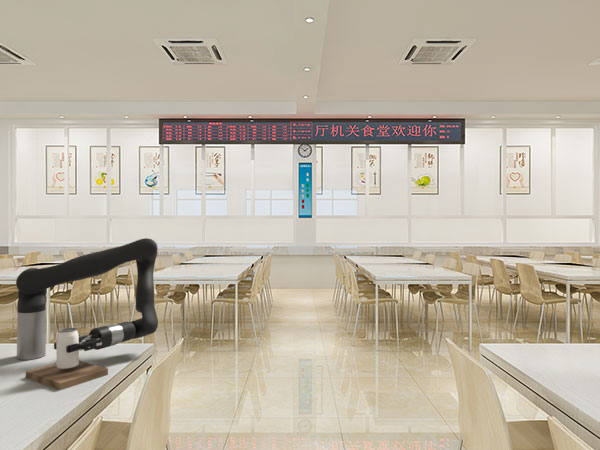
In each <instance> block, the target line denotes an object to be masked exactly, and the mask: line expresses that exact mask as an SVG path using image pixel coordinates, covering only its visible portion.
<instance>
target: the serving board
mask: <svg viewBox="0 0 600 450" xmlns="http://www.w3.org/2000/svg"><path fill="white" fill-rule="evenodd" d="M108 375H109V368H107V367H104V366H100V365H96V364H94V363H89V362H86V361H84V360H83V361H82V360H79V364H78V365H77V366H76V367H73V368H69V369H59V368H58V367H57V362H55V363H52V364H48V365H44V366H41V367H37V368H34V369H30V370H26V371H25V379H29V380H31V381H34V382H37V383H40V384H42V385H46V386H48V387H51V388H53V389H57V390H59V391H62V390H65V389H67V388H71V387H74V386H76V385H77V386H78V385H80V384H83V383H86V382H89V381H92V380H95V379H98V378H101V377H102V378H103V377H105V376H108Z"/></svg>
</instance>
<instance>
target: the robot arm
mask: <svg viewBox="0 0 600 450" xmlns="http://www.w3.org/2000/svg"><path fill="white" fill-rule="evenodd" d="M157 257H158V245H157V242H156V241H155V240H154V239H151V238H146V237H145V238H141V239H137V240H135V241H132V242H129V243H126V244H123V245H121V246H117V247H112V248H108V249H104V250H100V251H96V252H91V253H87V254H84V255H80V256H77V257H73V258H71V259H69V260H67V261H64V262H62V263H58V264H56V265H52V266H48V267H47V266H46V267H41V268H37V267H29V268H26V269H24V270H23V271H21V273H19V274H18V275H17V277H16V280H15V286H16V288H17V289H18V290H17V291H18V292H17V293H18V294H17V295H18V297H17V303H16V304H17V306H16V315H17V317H16V322H17V324H16V326H17V327H16V328H17V329H16V358H17V360H22V361H23V360H24V361H26V360H34V359H39V358H42V357H44V356H45V355H46V354H47V353H46V351H47V350H46V347H47V346H46V345H47V343H46V341H47V339H46V337H47V336H46V335H47V333H46V332H47V331H46V330H47V328H46V327H47V323H46V322H47V321H46V319H47V316H46V315H47V314H46V313H47V309H46V308H47V290H48V289H50V288H52V287H55V286H59V285H61V284H65V283H72V282H76V281H81V280H85V279H90V278H94V277H97V276H102V275H104V274H107V273H109V272H110V271H112V270H114V269H115V268H117V267H119V266H120V265H122V264H123V265H124V264H125V263H128V262H132V261H135V263H136V268H137V272H136V273H137V279H136V281H137V282H136V289H135V310H136V312H138V313H140V314H141V318H139V319H135V320H132V321H123V322H120V323H115V324H112V323H111V324H106V325H103V326H98V327H94V328H92V329H91V330H90V331H89V334H87V333H86V334H82V335H81V334H79V333H78V334H79V344H78V343H76V344H72V345H68V346H67V347H66V352H67V353H70V352H74V351H78V350H79V352H80V351H84V352H87V351H91V350H95V351H96V350H97V351H98V350H101V349H105V348H110V347H113V346H117V345H118V344H121V343H124V342H128V341H130V340H134V339H140V338H143V337H147V336H149V335H151V334H154V333H155V332H156V331H157V329H158V325H159V320H158V314H157V311H156V308H155V284H154V283H155V282H154V271H155V270H154V269H155V266H156V265H155V264H156V258H157ZM53 349H54V350H56V342H54V344H53Z"/></svg>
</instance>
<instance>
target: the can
mask: <svg viewBox="0 0 600 450" xmlns="http://www.w3.org/2000/svg"><path fill="white" fill-rule="evenodd" d="M55 339H56V342H55V343H56V349H55V351H56V363H57V367H58V368H59V369H69V368H73V367H76V366H77V365H78V364H79V361H80V358H79V357H80V354H79V353H80V351H79V350H78V351H74V352H70V353H67V352H66V347H67V346H68V345H72V344H76V343H78V344H79V332H78V328H76V327H65V328H61V329H59V330H57V333H56V338H55Z"/></svg>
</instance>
